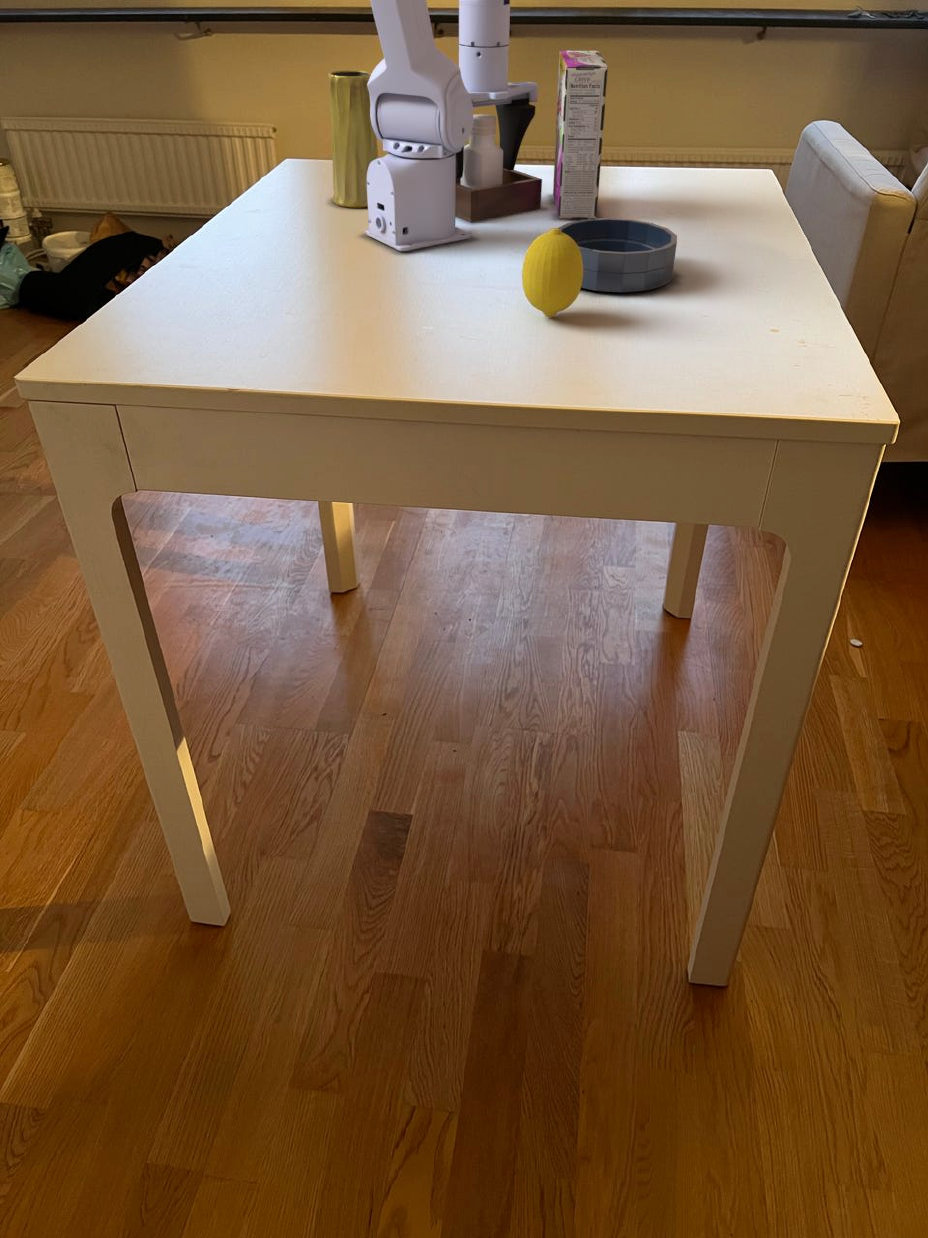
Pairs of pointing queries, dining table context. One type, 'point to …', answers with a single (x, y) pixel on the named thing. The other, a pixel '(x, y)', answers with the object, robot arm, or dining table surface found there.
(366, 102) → the vase
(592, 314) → the dining table surface
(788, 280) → the dining table surface
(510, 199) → the box
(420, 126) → the robot arm
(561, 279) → the lemon
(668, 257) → the bowl
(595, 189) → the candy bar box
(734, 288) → the dining table surface
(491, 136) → the white bottle
